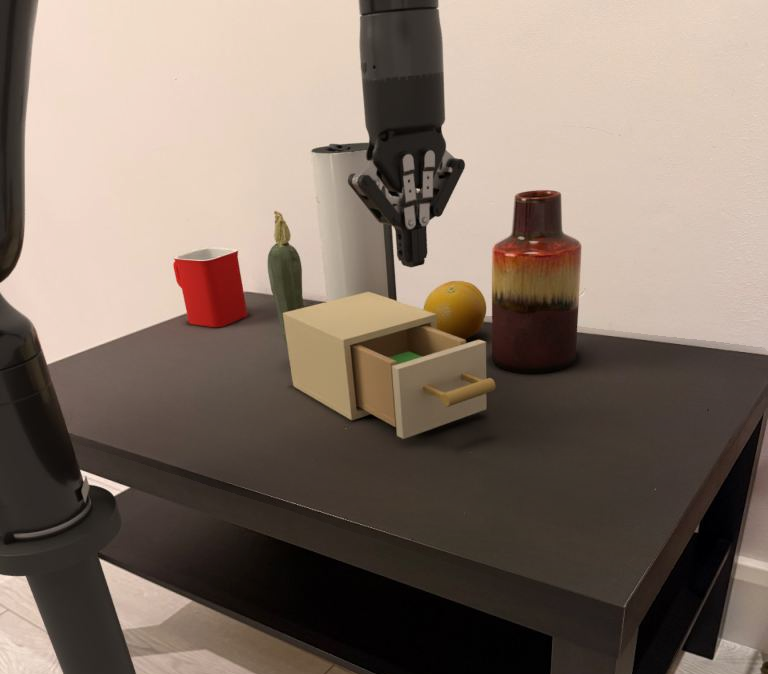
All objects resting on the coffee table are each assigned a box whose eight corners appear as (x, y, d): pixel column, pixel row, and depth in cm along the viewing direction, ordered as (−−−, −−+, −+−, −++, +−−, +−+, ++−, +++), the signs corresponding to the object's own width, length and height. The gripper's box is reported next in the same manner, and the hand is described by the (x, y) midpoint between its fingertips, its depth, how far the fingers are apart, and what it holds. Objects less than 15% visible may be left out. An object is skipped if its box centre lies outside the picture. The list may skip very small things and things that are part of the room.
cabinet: (439, 391, 94) (436, 314, 89) (351, 420, 88) (343, 339, 83) (374, 362, 105) (368, 291, 100) (293, 386, 99) (282, 312, 94)
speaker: (388, 345, 110) (373, 145, 97) (320, 344, 113) (296, 149, 99) (406, 322, 119) (394, 136, 105) (342, 322, 121) (323, 140, 108)
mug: (253, 314, 129) (242, 249, 124) (219, 329, 123) (206, 261, 118) (202, 308, 135) (189, 245, 130) (167, 321, 129) (152, 256, 124)
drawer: (515, 422, 83) (515, 352, 79) (429, 454, 78) (425, 381, 74) (416, 377, 96) (413, 316, 92) (338, 402, 91) (331, 338, 87)
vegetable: (312, 369, 104) (292, 213, 94) (280, 371, 104) (257, 216, 94) (315, 358, 108) (295, 207, 97) (284, 360, 108) (261, 210, 98)
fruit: (424, 349, 107) (421, 292, 103) (425, 331, 114) (422, 277, 110) (488, 346, 107) (487, 288, 102) (485, 328, 113) (484, 273, 109)
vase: (509, 342, 107) (510, 186, 97) (585, 349, 103) (595, 186, 92) (479, 368, 99) (477, 201, 89) (561, 378, 95) (569, 202, 84)
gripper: (364, 76, 64) (380, 285, 73) (484, 64, 70) (486, 257, 79) (319, 78, 70) (339, 272, 79) (434, 66, 76) (441, 248, 85)
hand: (413, 264), depth 79 cm, fingers closed
